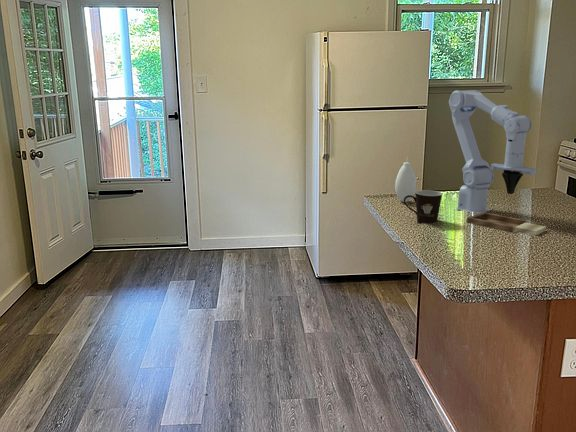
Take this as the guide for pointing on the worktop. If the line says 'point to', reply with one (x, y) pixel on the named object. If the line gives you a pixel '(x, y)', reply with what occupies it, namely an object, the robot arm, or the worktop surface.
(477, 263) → the worktop surface
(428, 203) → the coffee mug
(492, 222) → the walnut box
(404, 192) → the sauce bottle
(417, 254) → the worktop surface
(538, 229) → the beige rectangular block
